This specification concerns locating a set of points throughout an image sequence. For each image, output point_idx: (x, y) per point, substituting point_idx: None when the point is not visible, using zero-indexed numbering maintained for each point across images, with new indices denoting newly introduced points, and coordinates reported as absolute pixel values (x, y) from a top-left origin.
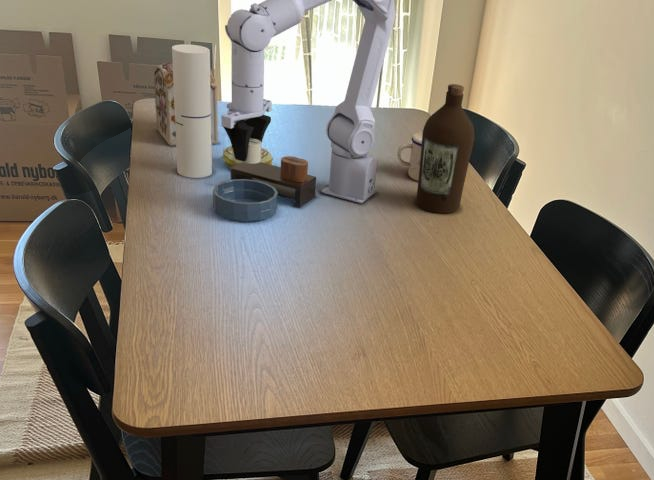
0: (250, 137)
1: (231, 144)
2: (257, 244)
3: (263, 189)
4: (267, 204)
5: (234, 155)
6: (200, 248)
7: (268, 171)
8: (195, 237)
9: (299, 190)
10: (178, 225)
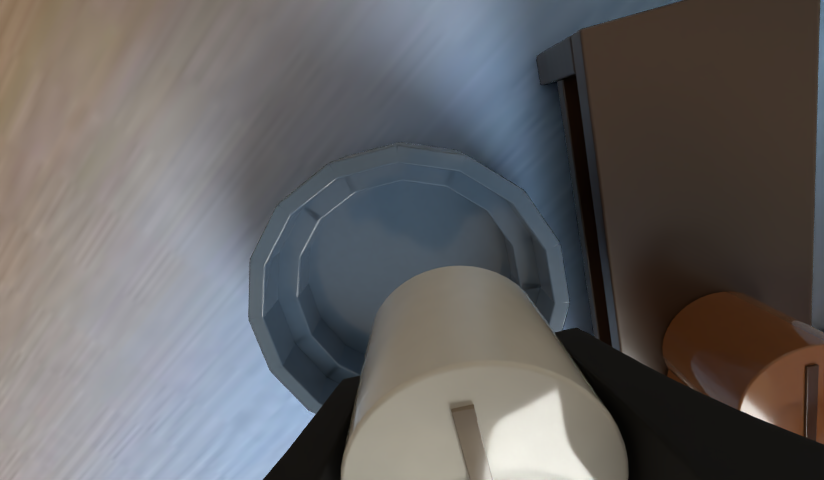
0: (639, 472)
1: (265, 478)
2: (254, 470)
3: (543, 283)
4: None
5: (329, 397)
6: (81, 392)
7: (702, 218)
8: (107, 327)
9: None
10: (102, 218)
